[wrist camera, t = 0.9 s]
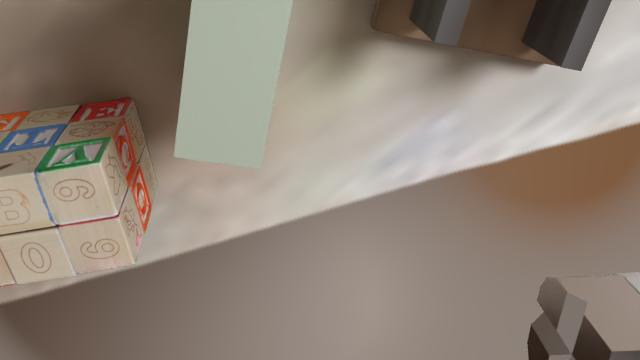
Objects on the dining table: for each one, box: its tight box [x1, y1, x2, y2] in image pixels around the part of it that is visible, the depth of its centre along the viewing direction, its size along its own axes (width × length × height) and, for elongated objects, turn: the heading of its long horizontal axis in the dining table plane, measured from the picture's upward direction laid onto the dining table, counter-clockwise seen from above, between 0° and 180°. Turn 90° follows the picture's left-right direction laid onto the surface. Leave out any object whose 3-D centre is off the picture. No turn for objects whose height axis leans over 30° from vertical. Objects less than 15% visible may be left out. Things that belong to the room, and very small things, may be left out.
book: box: [173, 0, 293, 169], centre depth 29 cm, size 4×9×10 cm, turn 168°
